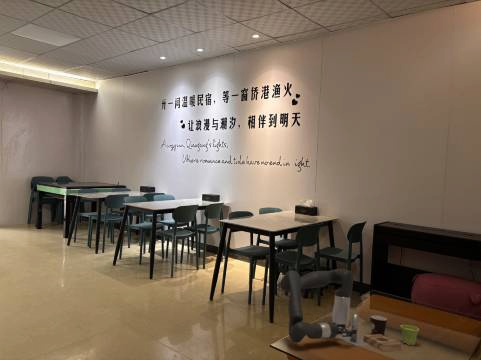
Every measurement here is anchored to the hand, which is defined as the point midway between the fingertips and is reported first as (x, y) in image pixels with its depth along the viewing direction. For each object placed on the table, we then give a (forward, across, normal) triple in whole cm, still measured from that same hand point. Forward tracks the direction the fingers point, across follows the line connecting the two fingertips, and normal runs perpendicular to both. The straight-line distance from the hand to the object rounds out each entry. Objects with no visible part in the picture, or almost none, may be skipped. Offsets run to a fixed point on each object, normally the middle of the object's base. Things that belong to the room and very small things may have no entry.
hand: (350, 328), depth 199 cm
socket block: (+15, +7, -7) cm, 19 cm away
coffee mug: (+27, -8, -8) cm, 30 cm away
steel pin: (+4, -1, -7) cm, 8 cm away
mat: (+4, -2, -7) cm, 9 cm away
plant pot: (+36, +7, -8) cm, 37 cm away
